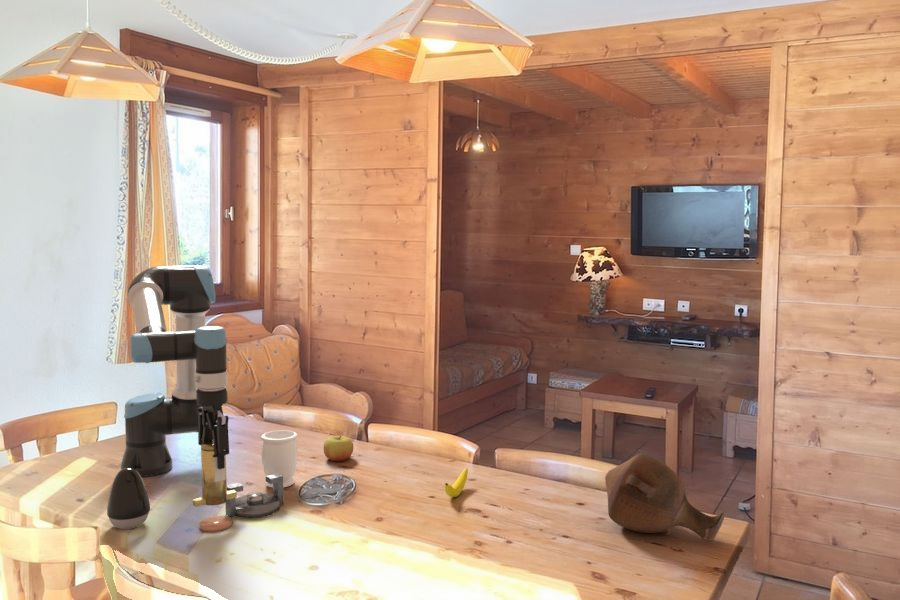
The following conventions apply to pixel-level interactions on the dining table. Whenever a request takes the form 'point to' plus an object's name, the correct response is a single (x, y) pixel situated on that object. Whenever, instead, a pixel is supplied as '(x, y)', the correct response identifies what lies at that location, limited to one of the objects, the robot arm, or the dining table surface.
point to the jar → (280, 455)
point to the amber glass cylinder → (212, 480)
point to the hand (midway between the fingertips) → (214, 476)
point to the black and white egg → (128, 500)
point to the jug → (654, 499)
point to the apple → (338, 448)
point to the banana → (457, 485)
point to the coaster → (215, 523)
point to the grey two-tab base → (256, 500)
